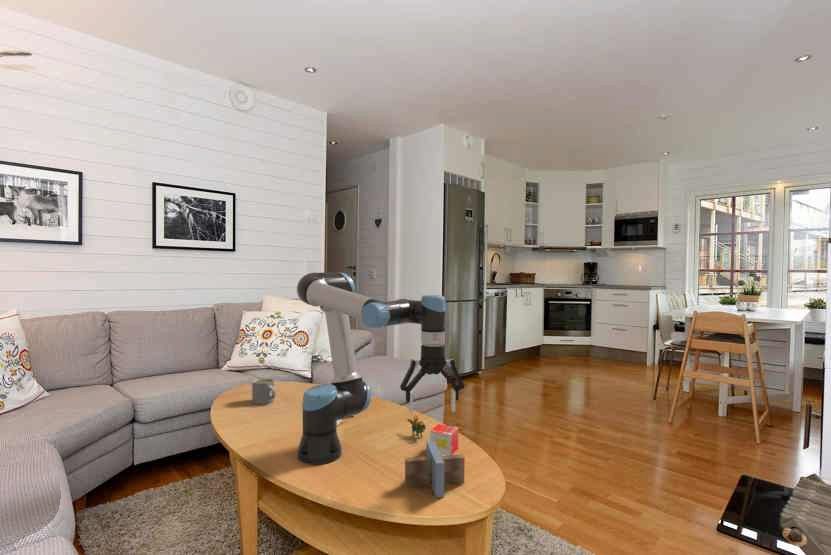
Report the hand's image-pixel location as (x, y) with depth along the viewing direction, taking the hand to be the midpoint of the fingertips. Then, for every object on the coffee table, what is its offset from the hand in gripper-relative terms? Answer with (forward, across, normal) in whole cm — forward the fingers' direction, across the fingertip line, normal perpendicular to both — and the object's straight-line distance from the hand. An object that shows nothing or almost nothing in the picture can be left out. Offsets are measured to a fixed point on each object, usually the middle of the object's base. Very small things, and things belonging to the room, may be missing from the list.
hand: (432, 411), depth 138 cm
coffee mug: (+21, -66, +83) cm, 108 cm away
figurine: (+21, 0, +33) cm, 39 cm away
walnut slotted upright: (+21, 0, -5) cm, 21 cm away
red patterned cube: (+21, +8, +18) cm, 29 cm away
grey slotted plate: (+21, 0, -5) cm, 21 cm away
